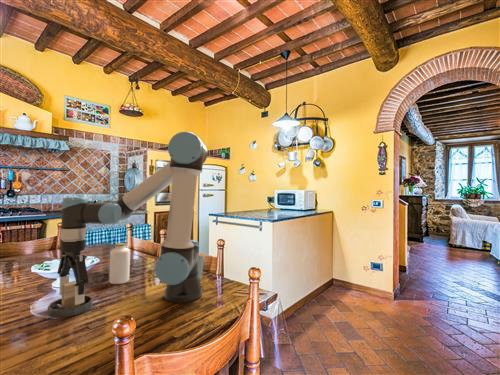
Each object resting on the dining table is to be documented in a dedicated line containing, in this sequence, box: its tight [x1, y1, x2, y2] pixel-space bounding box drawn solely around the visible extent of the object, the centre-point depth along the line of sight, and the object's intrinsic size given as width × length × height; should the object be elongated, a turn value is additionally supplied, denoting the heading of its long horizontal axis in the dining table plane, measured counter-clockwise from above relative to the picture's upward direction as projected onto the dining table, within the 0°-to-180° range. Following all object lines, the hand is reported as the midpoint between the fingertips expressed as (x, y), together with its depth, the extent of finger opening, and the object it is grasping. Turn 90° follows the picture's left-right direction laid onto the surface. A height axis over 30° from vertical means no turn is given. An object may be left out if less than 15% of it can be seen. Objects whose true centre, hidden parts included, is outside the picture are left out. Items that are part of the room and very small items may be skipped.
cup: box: [198, 255, 205, 280], centre depth 129 cm, size 8×8×10 cm
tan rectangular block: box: [61, 280, 81, 310], centre depth 93 cm, size 3×5×9 cm, turn 144°
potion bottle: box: [109, 242, 131, 285], centre depth 122 cm, size 8×8×18 cm
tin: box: [47, 294, 94, 318], centre depth 93 cm, size 13×13×2 cm
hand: (71, 298), depth 93 cm, fingers open, 13 cm apart
